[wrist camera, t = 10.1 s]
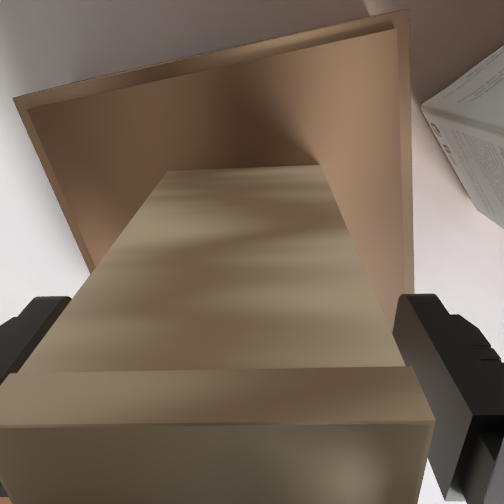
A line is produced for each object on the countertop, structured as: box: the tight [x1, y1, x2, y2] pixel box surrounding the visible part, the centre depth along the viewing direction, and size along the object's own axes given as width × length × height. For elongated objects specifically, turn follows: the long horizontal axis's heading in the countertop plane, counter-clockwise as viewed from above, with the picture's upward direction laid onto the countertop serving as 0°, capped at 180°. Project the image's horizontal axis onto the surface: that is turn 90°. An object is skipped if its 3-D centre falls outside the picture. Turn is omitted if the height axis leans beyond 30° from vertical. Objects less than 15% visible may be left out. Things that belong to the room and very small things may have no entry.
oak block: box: [0, 165, 436, 504], centre depth 10 cm, size 5×5×10 cm
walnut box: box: [12, 9, 414, 332], centre depth 17 cm, size 12×12×5 cm
